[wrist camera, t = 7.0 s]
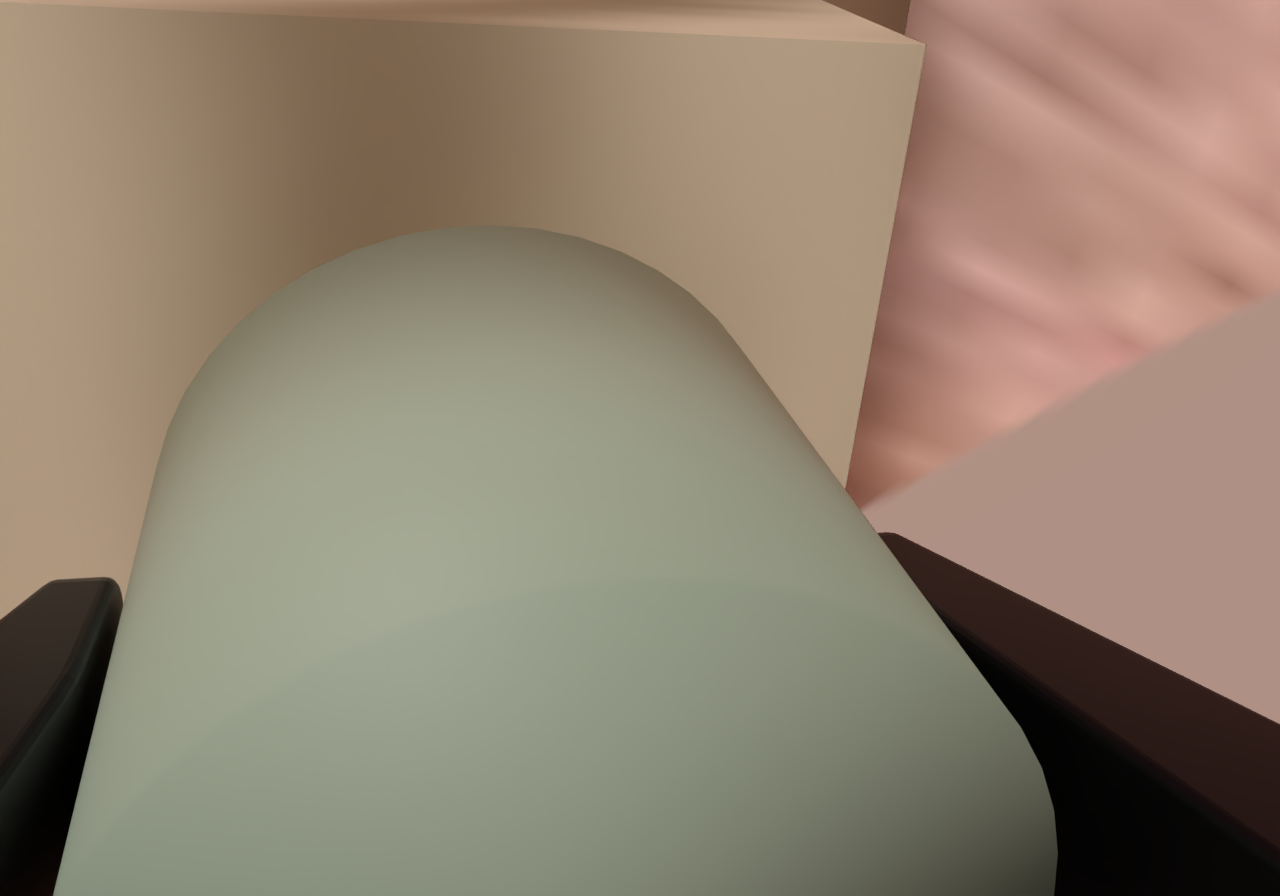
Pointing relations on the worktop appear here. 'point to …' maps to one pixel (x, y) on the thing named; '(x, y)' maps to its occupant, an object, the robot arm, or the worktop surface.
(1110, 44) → the worktop surface
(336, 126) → the top block
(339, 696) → the green rounded lump
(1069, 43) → the worktop surface
